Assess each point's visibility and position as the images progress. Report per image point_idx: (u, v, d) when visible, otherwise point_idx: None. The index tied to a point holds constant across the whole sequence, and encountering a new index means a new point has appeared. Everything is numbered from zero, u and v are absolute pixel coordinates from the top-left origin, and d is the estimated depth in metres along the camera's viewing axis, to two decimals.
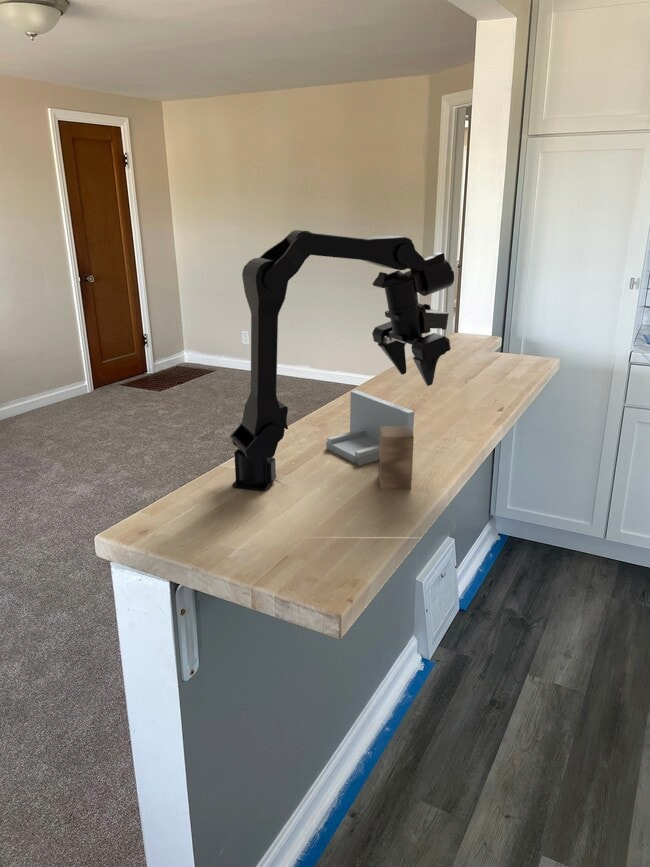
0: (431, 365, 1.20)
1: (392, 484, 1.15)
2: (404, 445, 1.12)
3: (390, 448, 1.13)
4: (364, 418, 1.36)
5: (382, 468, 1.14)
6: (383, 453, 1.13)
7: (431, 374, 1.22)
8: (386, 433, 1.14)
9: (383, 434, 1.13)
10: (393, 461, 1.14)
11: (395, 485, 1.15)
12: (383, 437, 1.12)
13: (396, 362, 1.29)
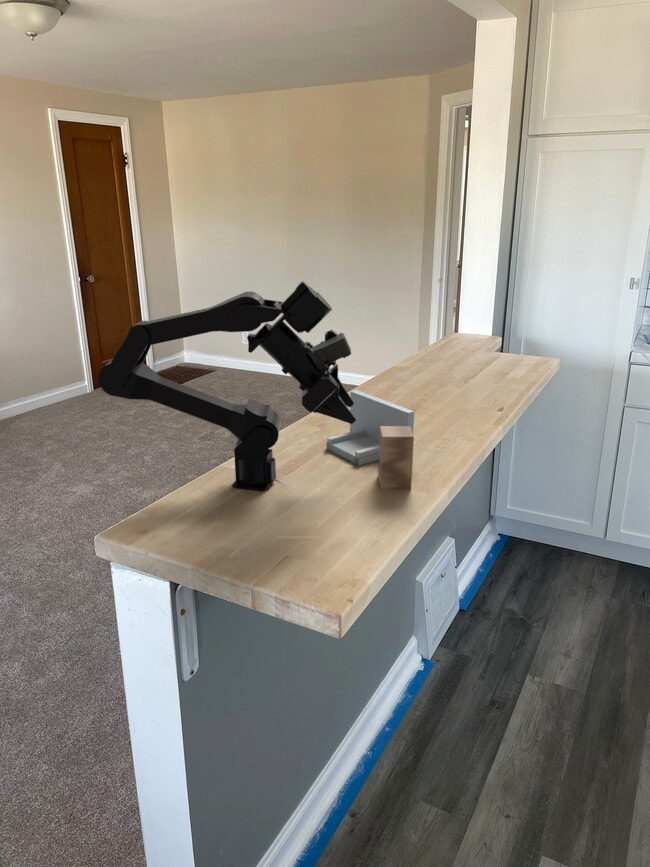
0: (337, 405, 1.07)
1: (392, 484, 1.15)
2: (404, 445, 1.12)
3: (390, 448, 1.13)
4: (364, 418, 1.36)
5: (382, 468, 1.14)
6: (383, 453, 1.13)
7: (345, 413, 1.08)
8: (386, 433, 1.14)
9: (383, 434, 1.13)
10: (393, 461, 1.14)
11: (395, 485, 1.15)
12: (383, 437, 1.12)
13: None
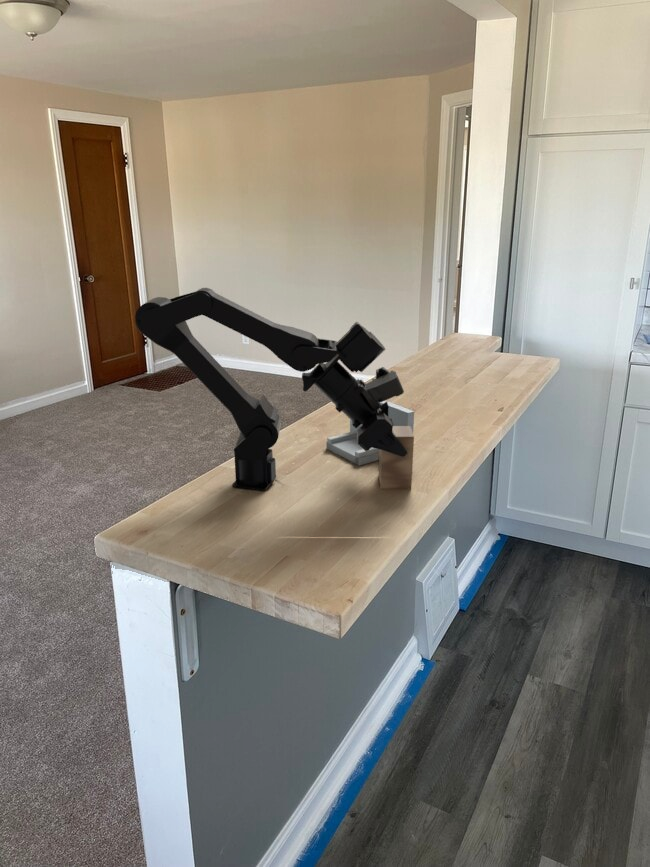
0: (390, 439, 1.11)
1: (392, 484, 1.15)
2: (404, 445, 1.12)
3: None
4: None
5: (382, 468, 1.14)
6: (383, 453, 1.13)
7: (398, 447, 1.11)
8: None
9: None
10: (393, 461, 1.14)
11: (395, 485, 1.15)
12: None
13: None
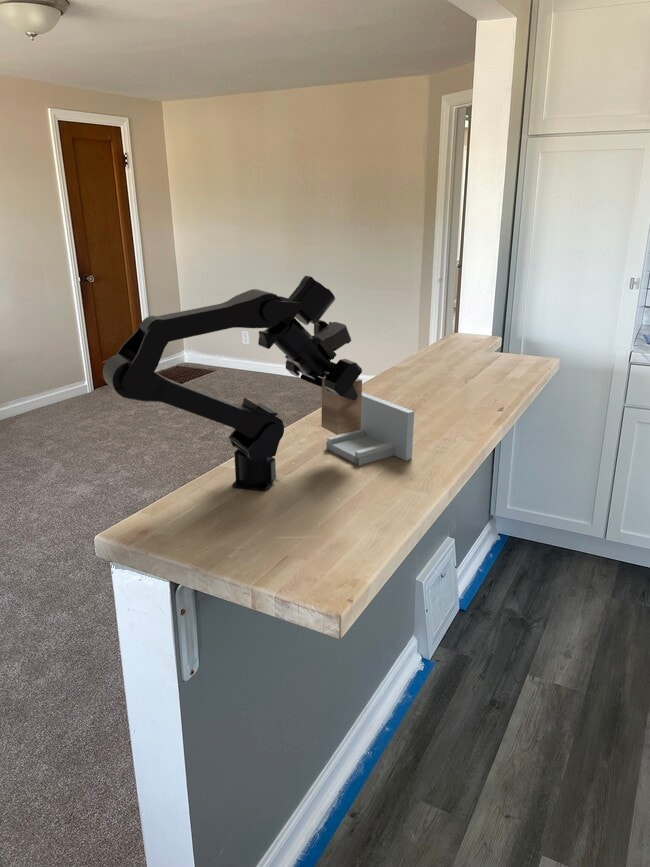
0: None
1: (346, 428, 1.22)
2: (355, 389, 1.21)
3: None
4: (364, 418, 1.36)
5: (338, 414, 1.20)
6: (338, 400, 1.19)
7: (352, 391, 1.19)
8: None
9: None
10: (346, 406, 1.21)
11: (348, 429, 1.23)
12: None
13: None
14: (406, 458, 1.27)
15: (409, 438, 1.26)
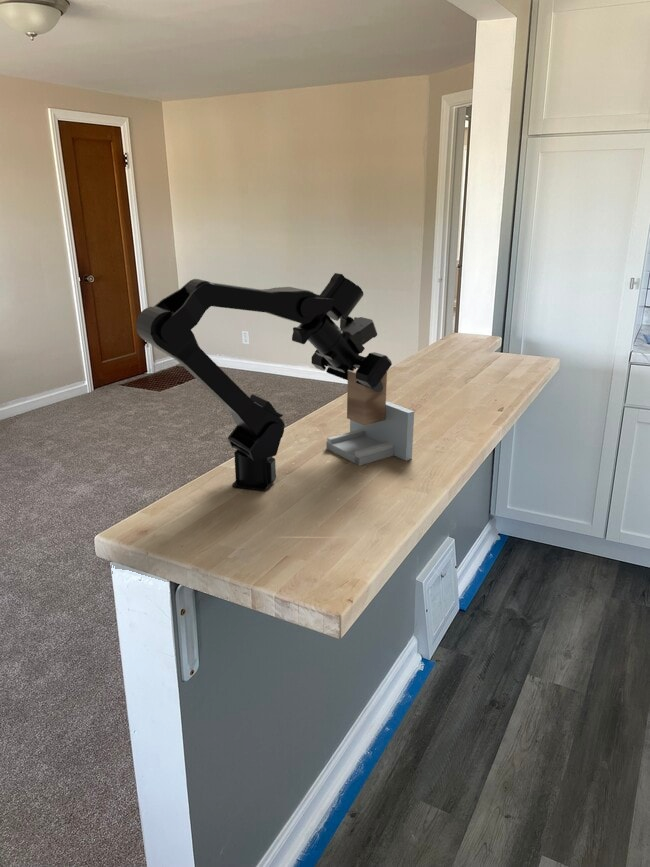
0: None
1: (372, 419, 1.28)
2: None
3: None
4: None
5: (365, 406, 1.25)
6: (366, 392, 1.24)
7: (379, 383, 1.24)
8: None
9: None
10: (372, 398, 1.26)
11: (374, 419, 1.28)
12: None
13: None
14: (406, 458, 1.27)
15: (409, 438, 1.26)
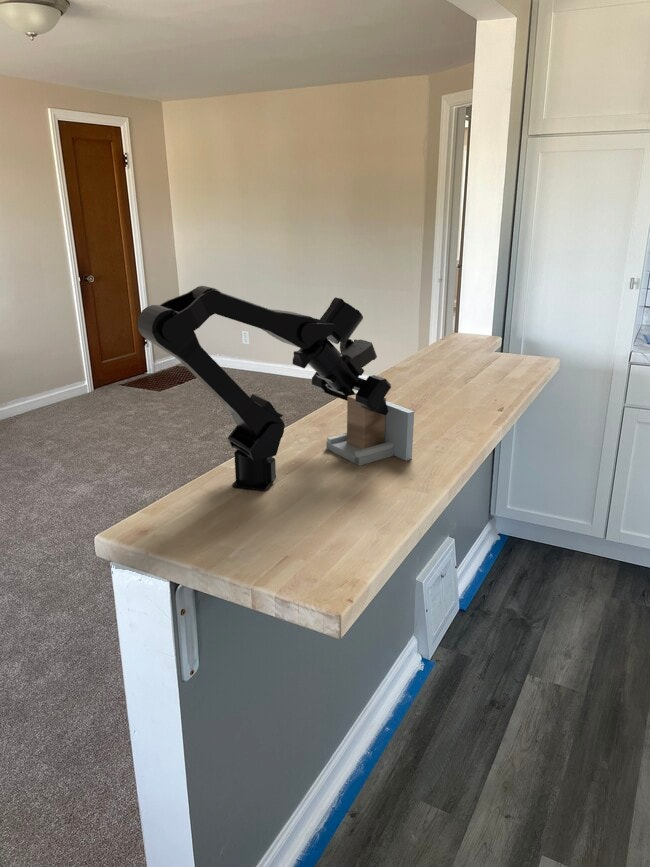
0: (380, 401, 1.23)
1: (372, 444, 1.29)
2: None
3: (370, 411, 1.27)
4: None
5: (365, 431, 1.27)
6: (365, 417, 1.26)
7: (384, 406, 1.25)
8: None
9: None
10: (372, 423, 1.28)
11: (374, 444, 1.30)
12: None
13: (346, 398, 1.32)
14: (406, 458, 1.27)
15: (409, 438, 1.26)
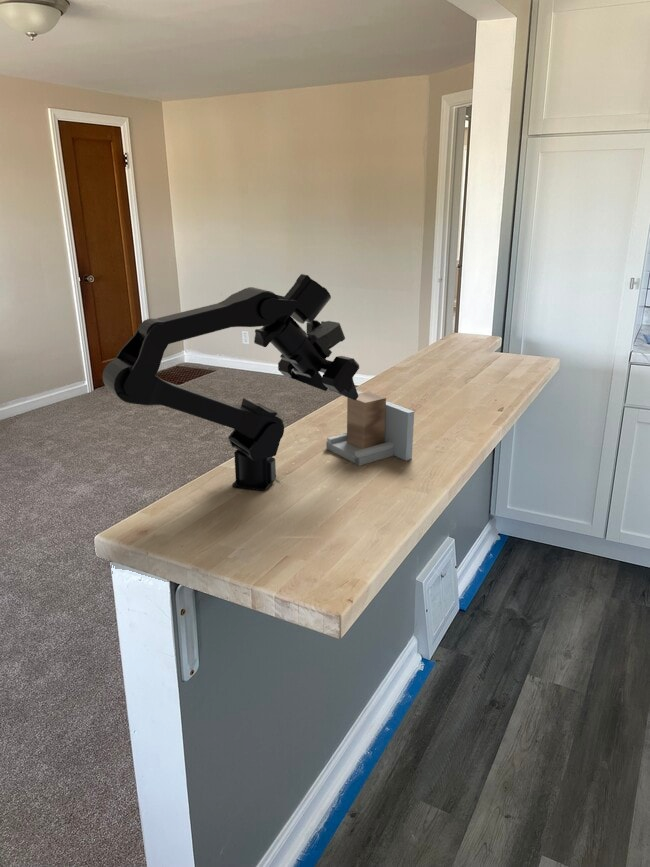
0: (349, 384, 1.17)
1: (372, 444, 1.29)
2: (380, 407, 1.28)
3: (370, 411, 1.27)
4: None
5: (365, 431, 1.27)
6: (365, 417, 1.26)
7: (353, 390, 1.18)
8: (362, 399, 1.27)
9: (362, 401, 1.26)
10: (372, 423, 1.28)
11: (374, 444, 1.30)
12: (365, 403, 1.25)
13: (315, 384, 1.25)
14: (406, 458, 1.27)
15: (409, 438, 1.26)
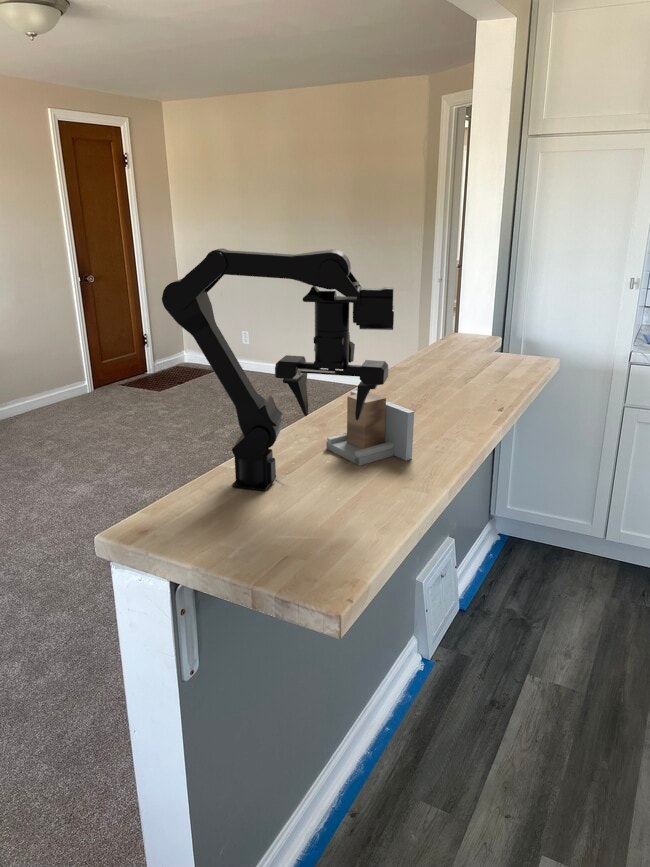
0: None
1: (372, 444, 1.29)
2: (380, 407, 1.28)
3: (370, 411, 1.27)
4: None
5: (365, 431, 1.27)
6: (365, 417, 1.26)
7: (362, 406, 1.10)
8: None
9: None
10: (372, 423, 1.28)
11: (374, 444, 1.30)
12: (365, 403, 1.25)
13: (304, 401, 1.11)
14: (406, 458, 1.27)
15: (409, 438, 1.26)
